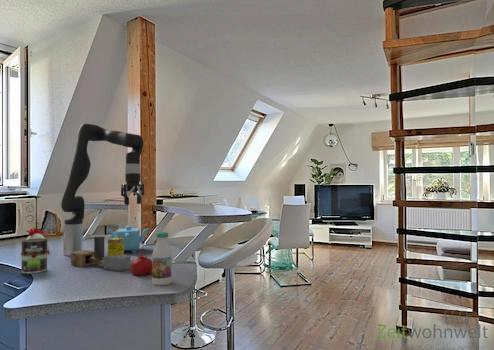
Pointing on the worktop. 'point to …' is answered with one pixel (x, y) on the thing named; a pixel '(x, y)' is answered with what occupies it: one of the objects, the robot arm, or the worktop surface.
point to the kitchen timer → (36, 236)
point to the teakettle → (130, 237)
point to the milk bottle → (162, 261)
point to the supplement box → (116, 246)
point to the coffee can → (34, 256)
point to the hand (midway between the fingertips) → (132, 204)
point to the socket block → (81, 258)
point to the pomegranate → (141, 265)
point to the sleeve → (117, 262)
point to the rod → (98, 250)
